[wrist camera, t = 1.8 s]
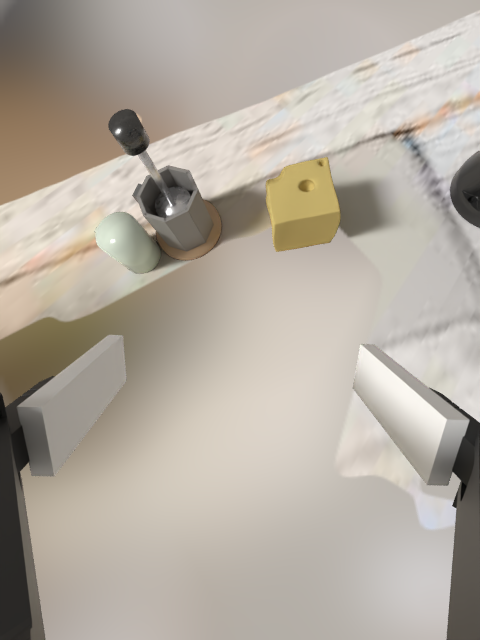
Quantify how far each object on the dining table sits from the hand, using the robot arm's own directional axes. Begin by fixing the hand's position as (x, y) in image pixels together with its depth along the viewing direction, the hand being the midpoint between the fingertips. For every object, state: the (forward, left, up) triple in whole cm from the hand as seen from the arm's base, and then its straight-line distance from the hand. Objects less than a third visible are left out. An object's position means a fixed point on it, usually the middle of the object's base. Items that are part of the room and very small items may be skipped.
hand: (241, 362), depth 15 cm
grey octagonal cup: (-21, -25, -32) cm, 45 cm away
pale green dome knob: (-13, -33, -32) cm, 48 cm away
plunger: (-21, -25, -24) cm, 40 cm away
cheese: (-28, -5, -32) cm, 43 cm away
